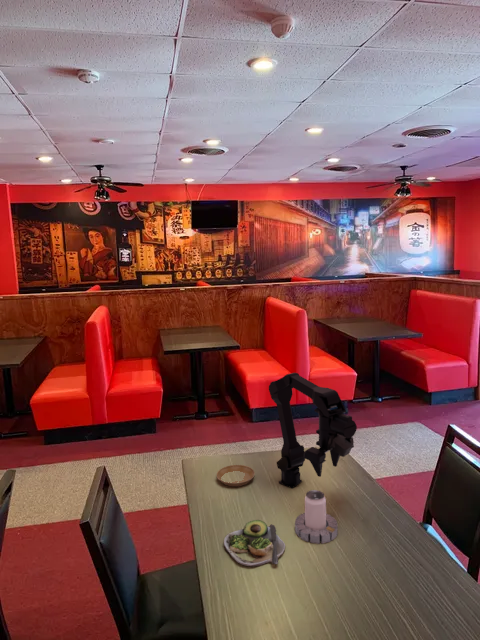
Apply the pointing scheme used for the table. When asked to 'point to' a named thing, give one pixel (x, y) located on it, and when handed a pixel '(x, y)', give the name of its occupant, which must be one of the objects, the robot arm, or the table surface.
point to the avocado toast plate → (255, 543)
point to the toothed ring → (316, 535)
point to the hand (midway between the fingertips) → (327, 471)
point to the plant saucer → (245, 469)
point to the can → (315, 510)
